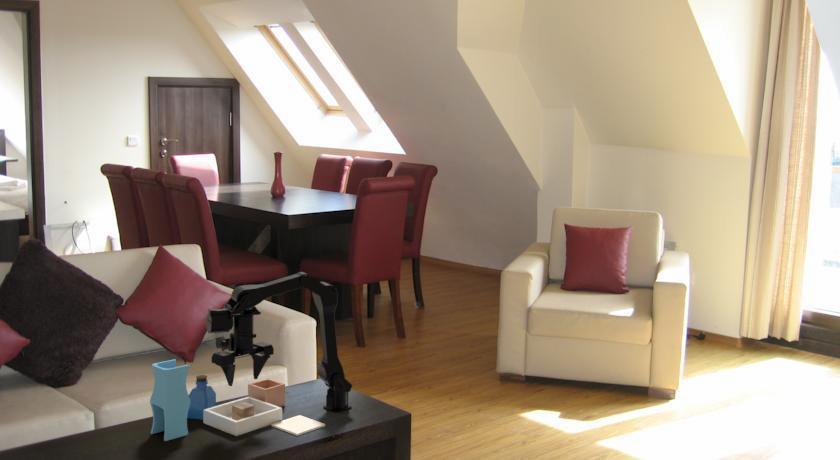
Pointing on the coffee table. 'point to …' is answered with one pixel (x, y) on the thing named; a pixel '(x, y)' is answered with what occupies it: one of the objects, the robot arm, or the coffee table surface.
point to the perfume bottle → (201, 398)
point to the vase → (170, 400)
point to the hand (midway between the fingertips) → (243, 382)
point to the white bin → (262, 418)
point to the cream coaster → (298, 425)
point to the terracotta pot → (268, 392)
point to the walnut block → (242, 411)
